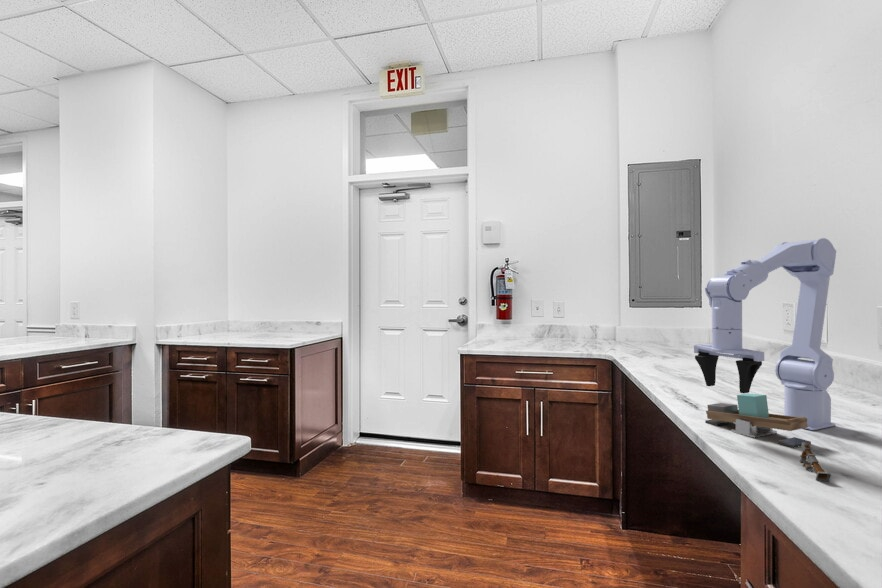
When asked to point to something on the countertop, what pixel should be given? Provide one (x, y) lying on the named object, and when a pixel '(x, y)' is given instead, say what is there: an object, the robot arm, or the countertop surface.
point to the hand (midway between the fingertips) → (727, 389)
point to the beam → (755, 418)
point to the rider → (753, 405)
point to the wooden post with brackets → (813, 463)
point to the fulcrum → (758, 431)
